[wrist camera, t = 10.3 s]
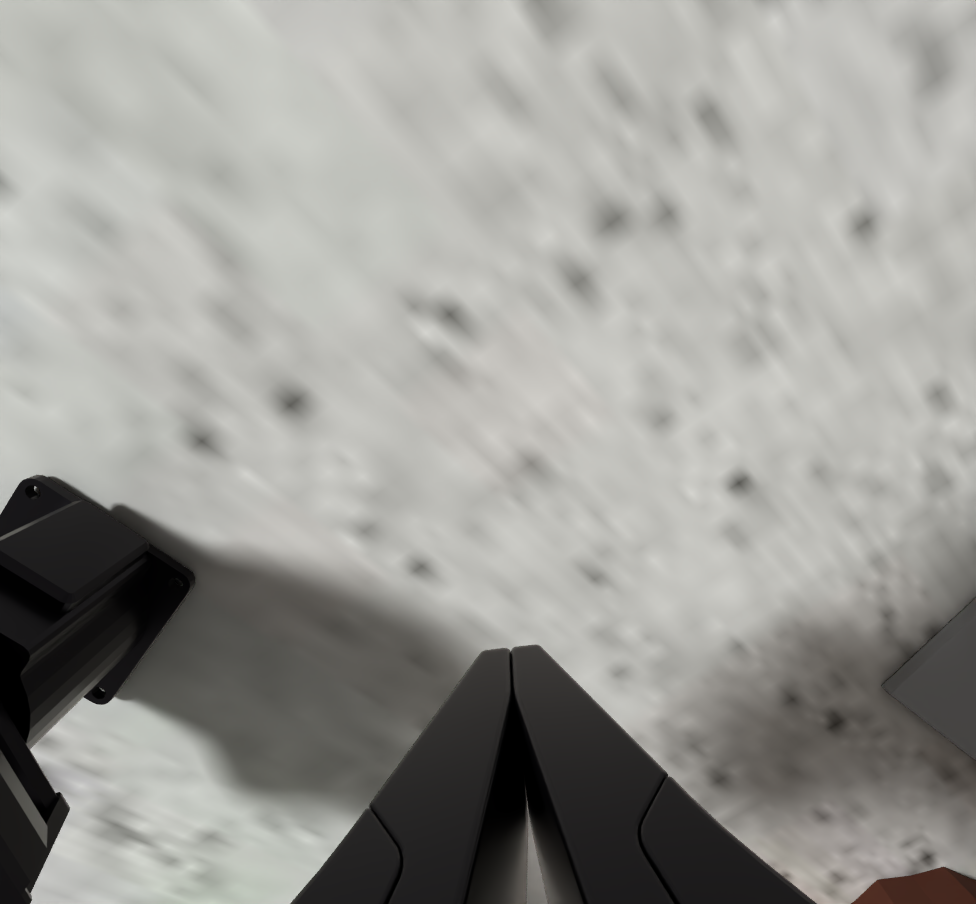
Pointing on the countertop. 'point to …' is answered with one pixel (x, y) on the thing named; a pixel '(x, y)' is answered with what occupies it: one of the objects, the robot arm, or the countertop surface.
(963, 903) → the muffin
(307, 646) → the countertop surface
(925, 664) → the rubber mat
